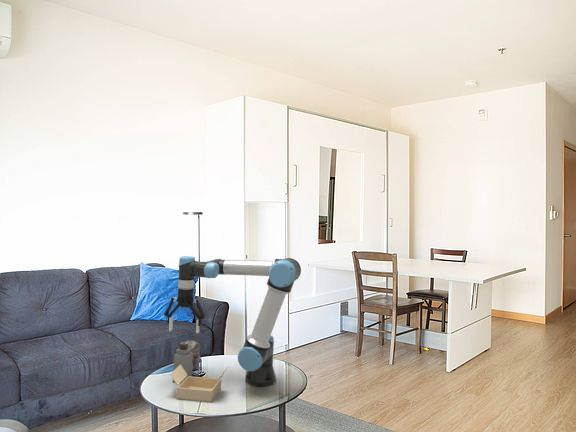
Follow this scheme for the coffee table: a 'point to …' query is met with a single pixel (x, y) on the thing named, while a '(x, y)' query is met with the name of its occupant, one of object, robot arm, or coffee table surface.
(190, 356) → the perfume bottle
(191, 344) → the figurine
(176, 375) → the flap
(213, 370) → the coffee table surface
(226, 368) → the flap
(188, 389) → the carton
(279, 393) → the coffee table surface
